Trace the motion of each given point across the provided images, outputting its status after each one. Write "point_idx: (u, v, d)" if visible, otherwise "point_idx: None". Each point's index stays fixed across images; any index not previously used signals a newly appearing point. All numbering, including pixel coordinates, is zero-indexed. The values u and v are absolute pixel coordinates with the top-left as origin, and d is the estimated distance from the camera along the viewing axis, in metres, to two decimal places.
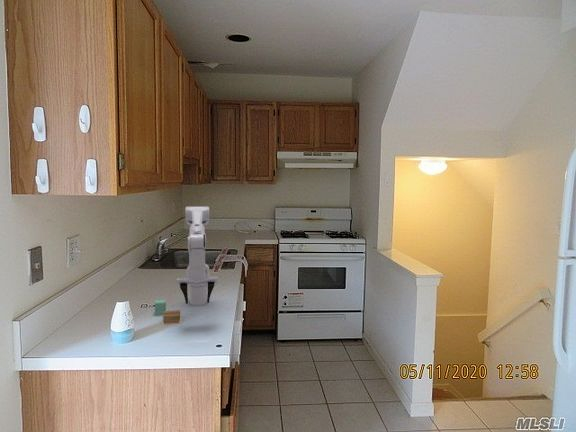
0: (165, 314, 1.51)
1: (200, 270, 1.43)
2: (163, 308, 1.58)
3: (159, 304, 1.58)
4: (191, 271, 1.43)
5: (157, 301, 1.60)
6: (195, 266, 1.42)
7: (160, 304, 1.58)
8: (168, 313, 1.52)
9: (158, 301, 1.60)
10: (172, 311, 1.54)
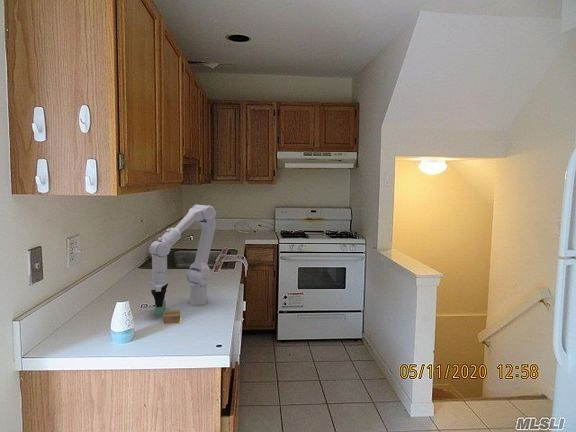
0: (165, 314, 1.51)
1: (152, 274, 1.57)
2: (163, 308, 1.58)
3: None
4: None
5: None
6: (152, 270, 1.57)
7: None
8: (168, 313, 1.52)
9: None
10: (172, 311, 1.54)
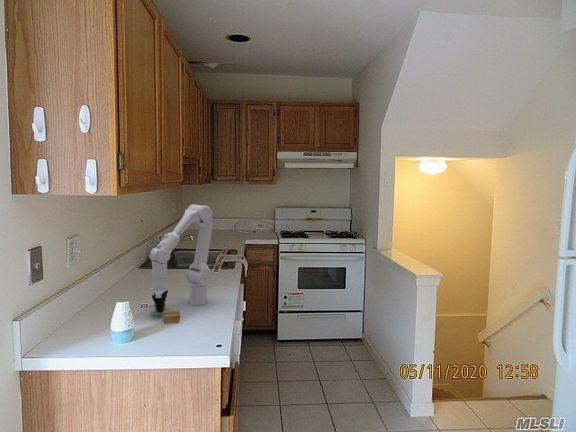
0: (165, 314, 1.51)
1: None
2: None
3: None
4: None
5: None
6: (152, 276, 1.57)
7: None
8: (168, 313, 1.52)
9: None
10: (172, 311, 1.54)
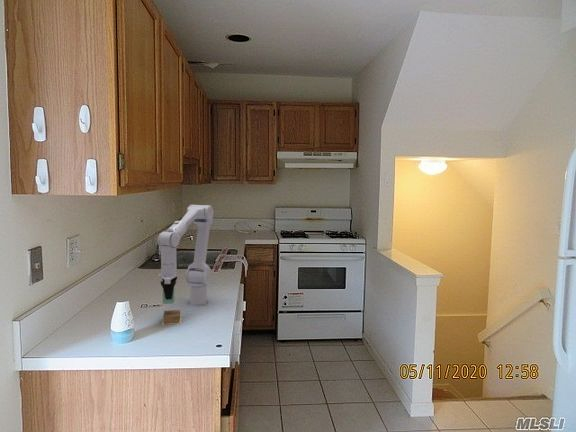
0: (165, 314, 1.51)
1: (161, 266, 1.50)
2: None
3: None
4: None
5: None
6: (163, 262, 1.49)
7: None
8: (168, 313, 1.52)
9: None
10: (172, 311, 1.54)
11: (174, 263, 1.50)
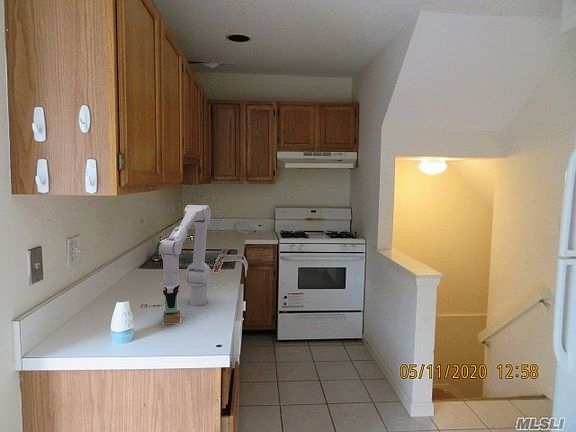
0: (165, 314, 1.51)
1: (163, 274, 1.49)
2: None
3: None
4: None
5: None
6: (165, 271, 1.48)
7: None
8: (168, 313, 1.52)
9: None
10: None
11: (176, 272, 1.50)
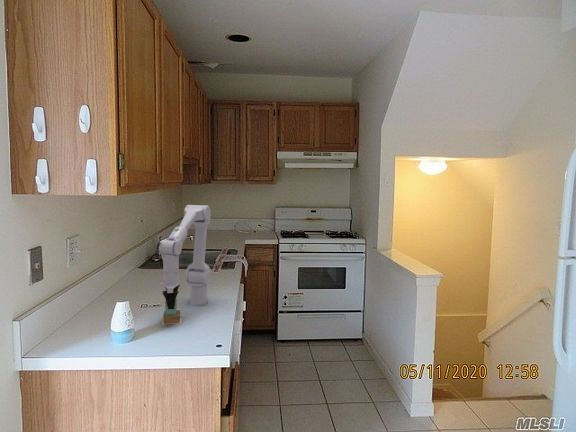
0: None
1: (163, 274, 1.49)
2: (174, 307, 1.50)
3: None
4: None
5: None
6: (165, 271, 1.48)
7: None
8: None
9: None
10: None
11: (176, 271, 1.50)
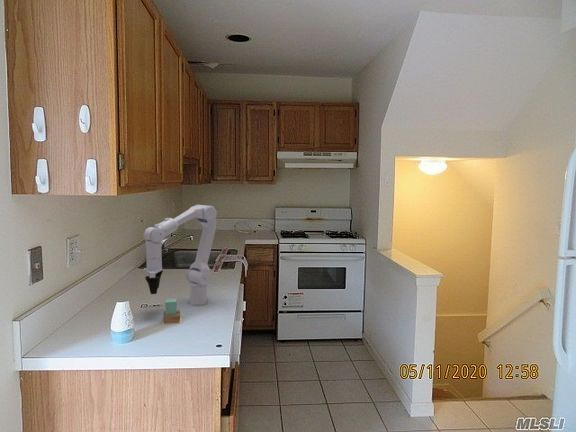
0: None
1: None
2: (174, 307, 1.50)
3: (170, 303, 1.50)
4: None
5: (167, 300, 1.52)
6: (146, 256, 1.55)
7: (171, 303, 1.50)
8: None
9: (169, 300, 1.52)
10: None
11: (159, 258, 1.55)
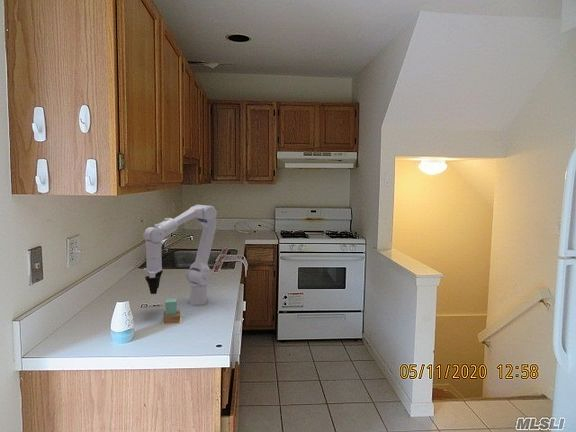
0: None
1: (146, 260, 1.55)
2: (174, 307, 1.50)
3: (170, 303, 1.50)
4: None
5: (167, 300, 1.52)
6: (146, 256, 1.55)
7: (171, 303, 1.50)
8: None
9: (169, 300, 1.52)
10: None
11: (159, 258, 1.55)
